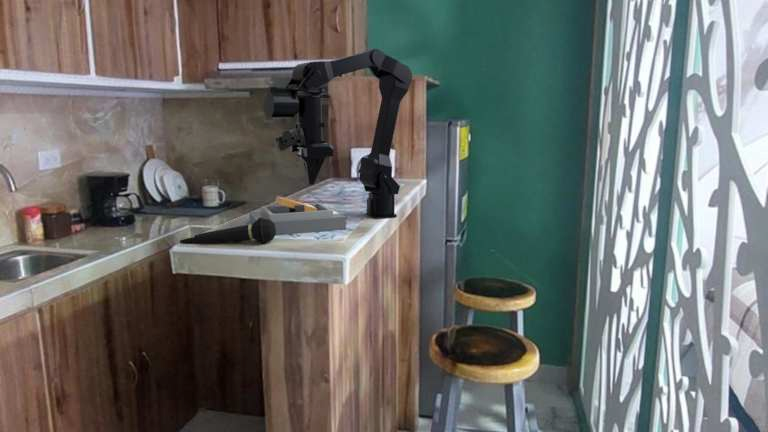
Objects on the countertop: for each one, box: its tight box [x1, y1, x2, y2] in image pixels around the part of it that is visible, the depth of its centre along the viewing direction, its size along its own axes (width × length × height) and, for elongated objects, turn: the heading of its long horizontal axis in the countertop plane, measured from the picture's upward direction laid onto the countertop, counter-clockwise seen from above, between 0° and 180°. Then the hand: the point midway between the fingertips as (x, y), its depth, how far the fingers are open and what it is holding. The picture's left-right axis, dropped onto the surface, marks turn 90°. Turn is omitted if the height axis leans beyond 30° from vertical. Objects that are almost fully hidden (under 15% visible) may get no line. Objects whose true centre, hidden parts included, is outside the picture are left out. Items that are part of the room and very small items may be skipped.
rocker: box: [275, 195, 317, 212], centre depth 124 cm, size 9×5×2 cm, turn 113°
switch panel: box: [248, 199, 347, 236], centre depth 124 cm, size 20×14×6 cm
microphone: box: [179, 217, 277, 245], centre depth 109 cm, size 6×6×20 cm
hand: (311, 184), depth 124 cm, fingers closed
